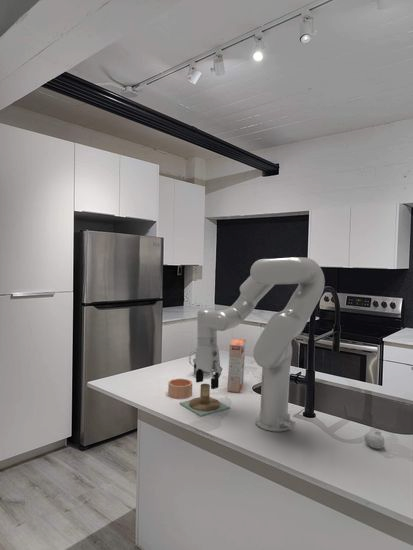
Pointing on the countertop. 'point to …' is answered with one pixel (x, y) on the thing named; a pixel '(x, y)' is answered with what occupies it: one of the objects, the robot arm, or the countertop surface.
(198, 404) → the lid
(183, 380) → the bowl
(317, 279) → the robot arm
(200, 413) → the mat
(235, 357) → the cracker box
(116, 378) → the countertop surface
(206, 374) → the french press
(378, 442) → the garlic
